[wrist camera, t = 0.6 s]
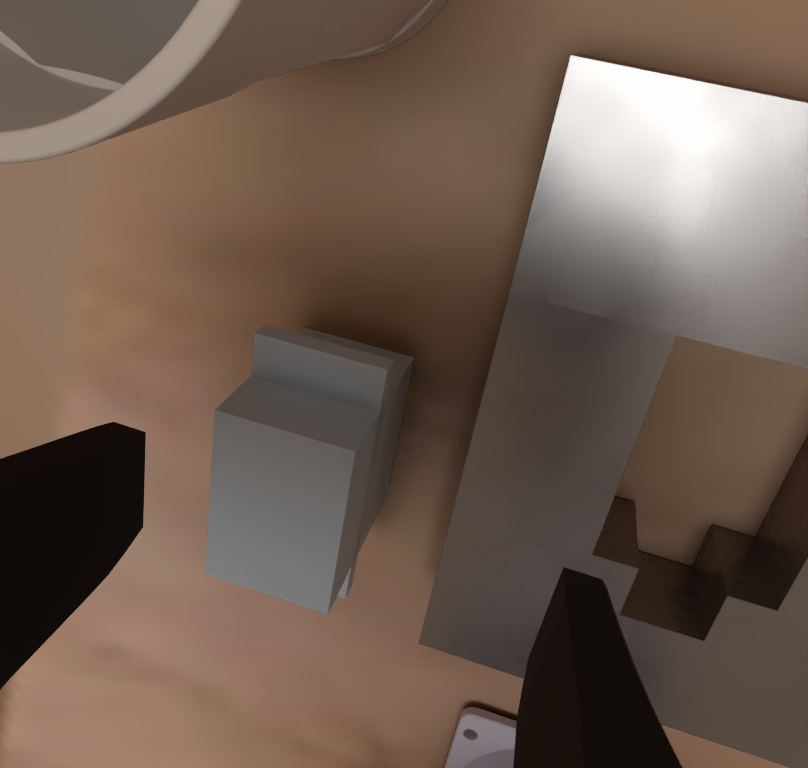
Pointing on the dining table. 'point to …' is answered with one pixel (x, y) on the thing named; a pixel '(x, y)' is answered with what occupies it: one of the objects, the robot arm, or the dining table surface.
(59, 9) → the cup
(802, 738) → the chassis
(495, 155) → the dining table surface
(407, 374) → the block
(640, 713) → the robot arm
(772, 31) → the dining table surface
